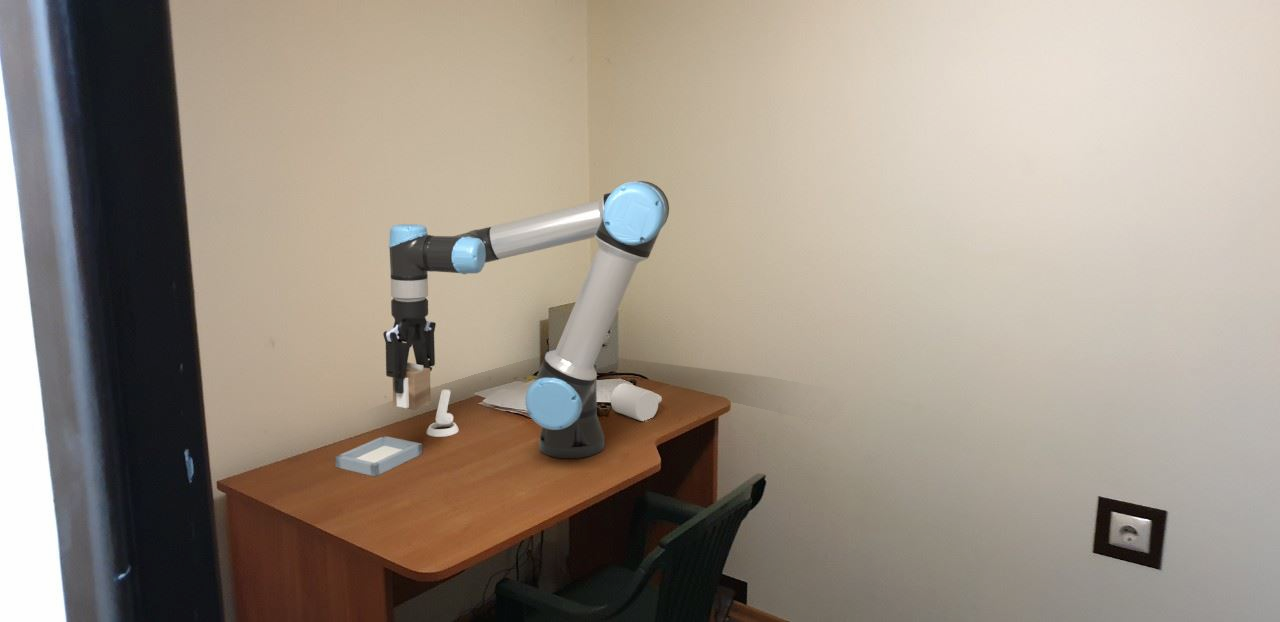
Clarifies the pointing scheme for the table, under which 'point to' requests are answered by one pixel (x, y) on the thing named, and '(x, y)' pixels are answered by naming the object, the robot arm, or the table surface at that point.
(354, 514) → the table surface
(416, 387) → the brown cardboard carton
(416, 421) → the table surface
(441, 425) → the hook
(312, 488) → the table surface
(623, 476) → the table surface
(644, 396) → the mug
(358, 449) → the tray
